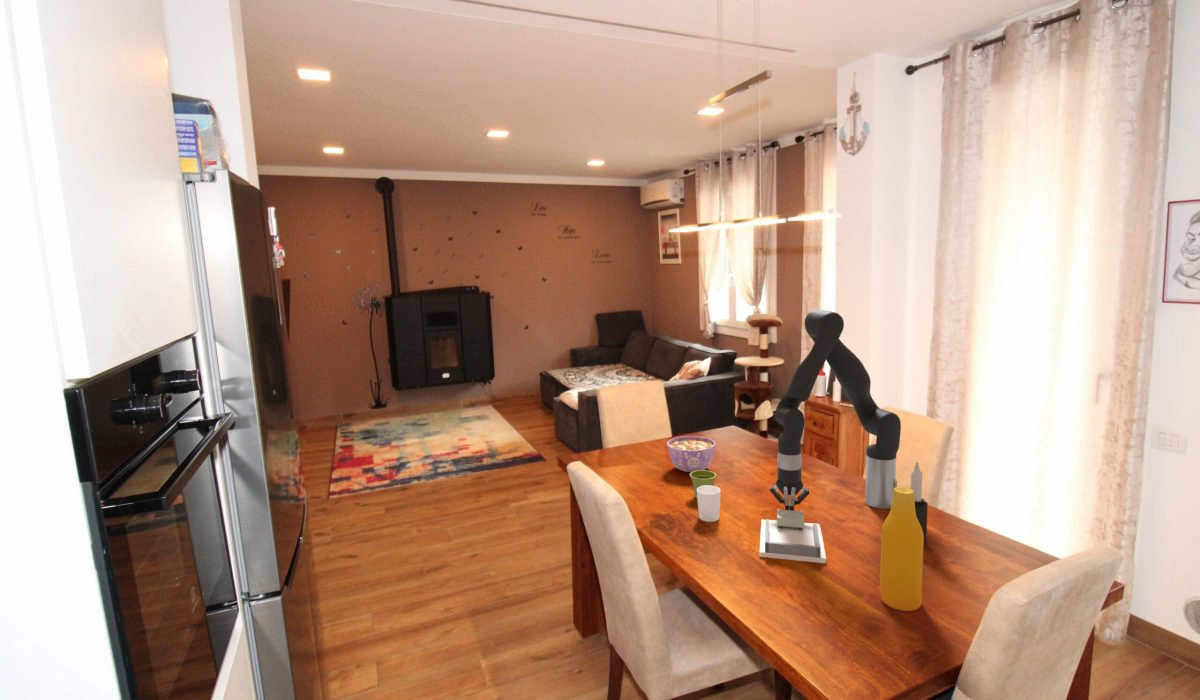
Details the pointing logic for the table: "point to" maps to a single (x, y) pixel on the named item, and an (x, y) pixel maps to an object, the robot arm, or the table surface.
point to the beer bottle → (902, 554)
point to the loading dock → (792, 542)
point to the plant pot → (702, 479)
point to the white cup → (708, 502)
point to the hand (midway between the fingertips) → (789, 515)
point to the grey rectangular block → (790, 518)
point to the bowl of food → (691, 452)
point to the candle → (919, 499)
